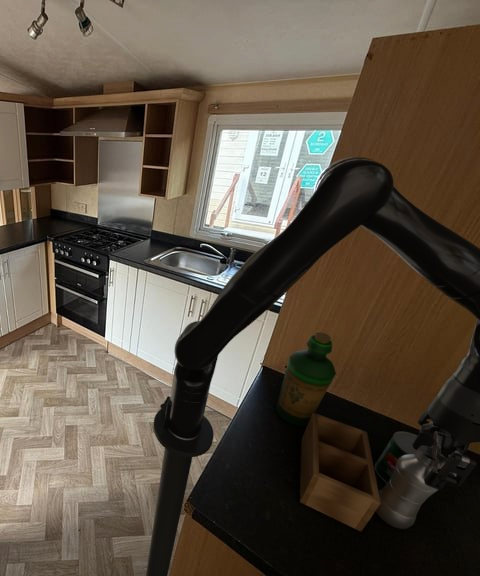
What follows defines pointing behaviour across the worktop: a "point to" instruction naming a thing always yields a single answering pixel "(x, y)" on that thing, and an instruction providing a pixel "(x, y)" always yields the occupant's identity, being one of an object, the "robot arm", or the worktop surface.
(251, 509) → the worktop surface
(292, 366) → the bottle
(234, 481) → the worktop surface
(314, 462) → the bottle rack
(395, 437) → the canned tomato
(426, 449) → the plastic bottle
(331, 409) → the worktop surface
